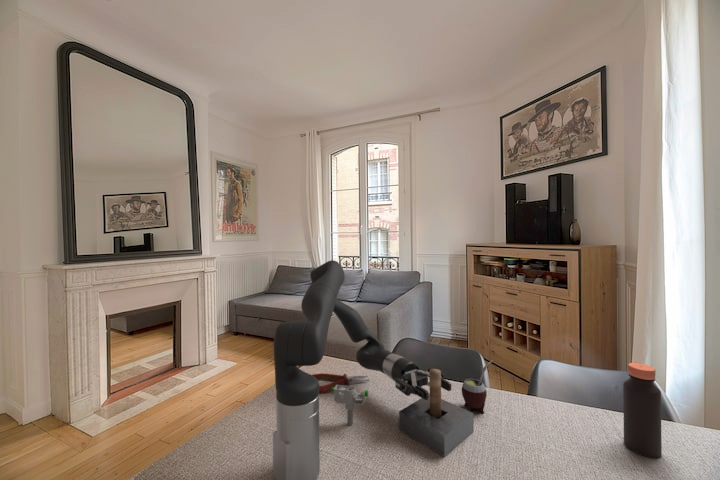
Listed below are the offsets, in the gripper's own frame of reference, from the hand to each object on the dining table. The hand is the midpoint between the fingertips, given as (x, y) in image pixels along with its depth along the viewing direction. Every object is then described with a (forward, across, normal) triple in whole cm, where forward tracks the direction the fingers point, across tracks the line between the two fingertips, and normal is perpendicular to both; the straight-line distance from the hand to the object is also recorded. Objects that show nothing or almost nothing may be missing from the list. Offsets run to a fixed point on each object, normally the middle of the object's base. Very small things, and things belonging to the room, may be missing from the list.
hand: (439, 391), depth 80 cm
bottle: (+31, +37, +11) cm, 50 cm away
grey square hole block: (-1, 0, +11) cm, 11 cm away
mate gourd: (-2, +18, +11) cm, 21 cm away
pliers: (-38, -10, +12) cm, 41 cm away
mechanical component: (-16, -18, +11) cm, 27 cm away
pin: (-1, 0, +11) cm, 11 cm away
